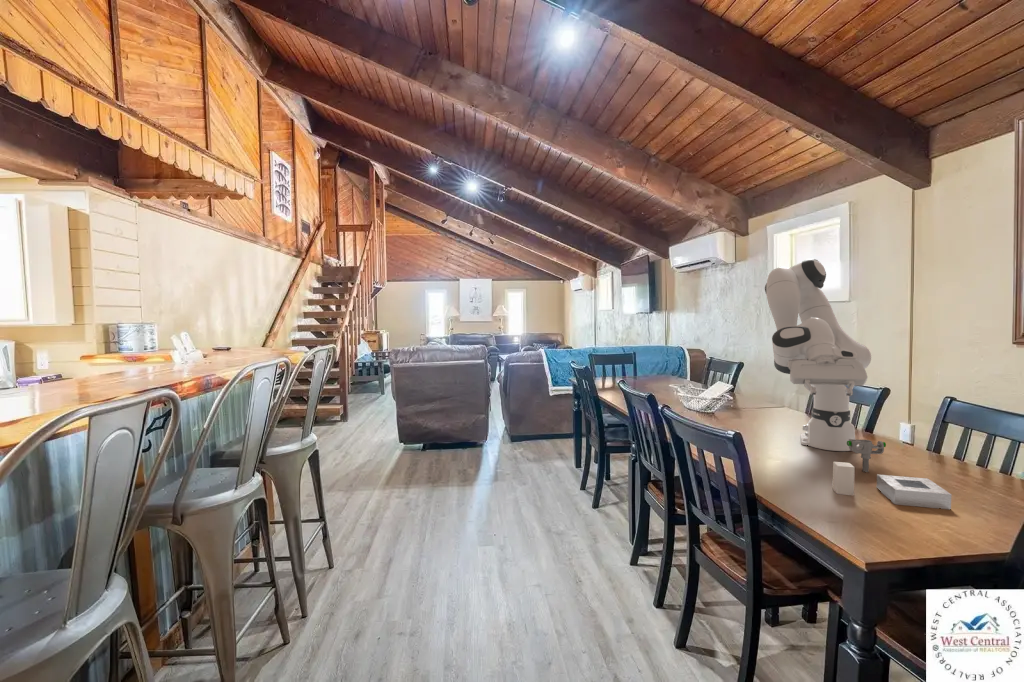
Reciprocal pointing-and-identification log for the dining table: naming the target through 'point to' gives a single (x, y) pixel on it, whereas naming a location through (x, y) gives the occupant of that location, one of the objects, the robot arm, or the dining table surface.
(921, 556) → the dining table surface
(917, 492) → the grey square socket base
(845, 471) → the plug
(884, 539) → the dining table surface
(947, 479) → the dining table surface
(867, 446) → the mechanical component
